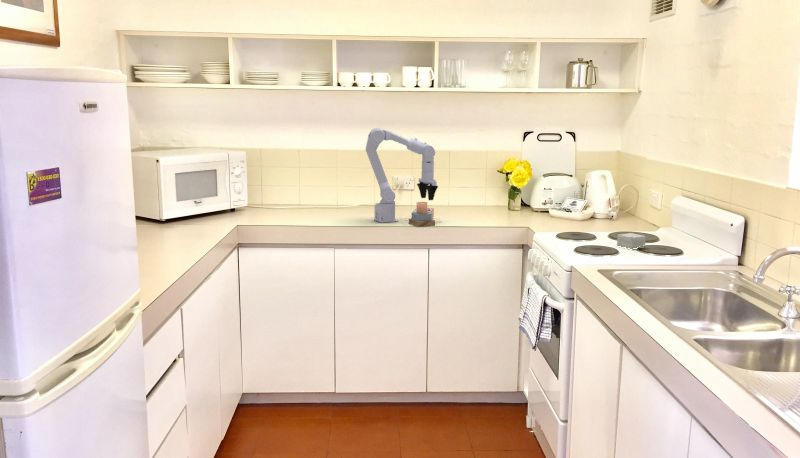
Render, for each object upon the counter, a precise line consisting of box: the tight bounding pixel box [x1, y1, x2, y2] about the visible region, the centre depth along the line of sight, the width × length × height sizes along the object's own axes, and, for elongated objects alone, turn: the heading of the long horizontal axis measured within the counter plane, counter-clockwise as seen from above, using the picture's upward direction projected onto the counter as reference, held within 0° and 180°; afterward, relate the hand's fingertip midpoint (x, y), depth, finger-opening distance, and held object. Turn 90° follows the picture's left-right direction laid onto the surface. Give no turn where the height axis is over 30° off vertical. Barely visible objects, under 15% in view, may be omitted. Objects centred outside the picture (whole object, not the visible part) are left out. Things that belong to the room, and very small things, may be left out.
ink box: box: [412, 207, 435, 220], centre depth 327 cm, size 8×5×12 cm
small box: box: [616, 232, 647, 250], centre depth 270 cm, size 8×8×5 cm
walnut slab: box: [408, 218, 436, 228], centre depth 314 cm, size 9×9×3 cm
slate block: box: [411, 211, 432, 221], centre depth 313 cm, size 7×7×3 cm
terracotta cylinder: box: [416, 201, 428, 214], centre depth 312 cm, size 5×5×5 cm
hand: (427, 199), depth 323 cm, fingers open, 7 cm apart
